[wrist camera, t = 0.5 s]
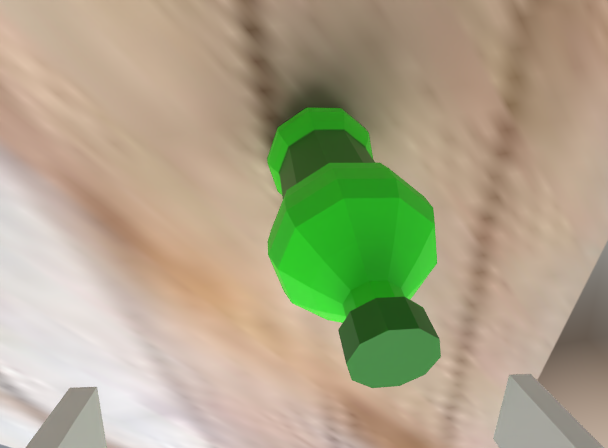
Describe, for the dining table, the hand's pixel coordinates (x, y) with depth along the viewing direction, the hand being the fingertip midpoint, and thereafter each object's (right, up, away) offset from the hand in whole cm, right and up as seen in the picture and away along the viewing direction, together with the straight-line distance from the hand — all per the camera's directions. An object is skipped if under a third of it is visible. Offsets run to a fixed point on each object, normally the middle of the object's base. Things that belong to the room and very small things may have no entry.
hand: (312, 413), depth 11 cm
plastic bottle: (+1, +14, +25) cm, 29 cm away
